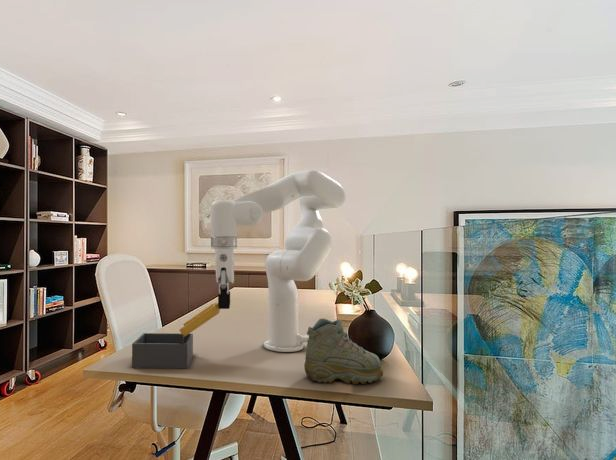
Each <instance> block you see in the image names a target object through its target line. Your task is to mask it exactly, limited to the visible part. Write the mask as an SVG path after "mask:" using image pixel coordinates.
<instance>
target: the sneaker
mask: <svg viewBox="0 0 616 460" xmlns="http://www.w3.org/2000/svg"><path fill="white" fill-rule="evenodd" d="M306 335H308V336H309V339H308V343H307V342H306V343H307V344H306V347H305V358H304V359H305V361H304V372H305V374H306V376H307V378H309V379H310V380H311V381H313V382H316V383H320V384H321V383H323V384H324V383H325V384H326V383H327V384H328V383H329V384H331V383H333V382H334V381H335V380H340V381H342V382H344V383H345V384H351V383H352V385H359V384H361V385H366V384H367V383H368V384H372V383H373V382H377V381H378V380H380V379H381V377H383V375H384V370H383V367H382V364H381V360H380V358H379V356H378V355H377V354H375V353H373V352H370V351H368V350H367V349H364V348H363V347H362V346H359V345H358V344H357V343H356V342H354V341H352V339H351V338H349V334H348V332H345V330H344V326H343V320H341V319H336V320H334V321H332V320H329V319H326V318H319V319H318V320H317V321H316V322H315V323H314V325H313V326H312V327H311V326H308V329H307V331H306Z"/></svg>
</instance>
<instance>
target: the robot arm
mask: <svg viewBox="0 0 616 460" xmlns="http://www.w3.org/2000/svg"><path fill="white" fill-rule="evenodd" d="M298 199H299V205H300V212H301V213H300V214H301V215H300V219H299V220H298V221H297V223H296V224H295V226H294V227H293V228H292V230H291V231H290V233H289V234H288V235H287V237H286V239H285V242H284V248H285V249H276V250H273V251H271V252H270V253H269V254H268V255H267V257H266V258H265V263H264V268H265V273H266V277H267V285H268V286H267V287H268V340H266V341H265V340H264V343H263V347H264V348H265V349H266V350H269V351H272V352H279V353H293V352H299V351H301V350H303V349H304V343H308V339H309V335H308V334H306V335H301V334H300V332H299V293H298V288H297V285H296V282H295V281H297V282H298V281H299V282H307V281H310V280H311V279H313V278H314V277H315V276H316V275H317V273H318V272H319V270H320V269H321V267H322V266H323V264H324V262H325V261H326V260H327V258H328V256H329V254H330V252H331V250H332V245H333V239H332V235H331V233H330V232H329V231H328V230H327V229H326V228H324V220H323V218H322V216H321V213H320V210H328V209H337V208H339V207H341V206H343V204H344V202H345V200H346V192H345V189H344V187H343V186H342V184H340V183H339V182H337V181H336V180H334V179H333V178H331V177H330V176H328V175H327V174H325V173H323V172H322V171H319V170H317V169H306V170H301V171H295V172H292V173H289V174H287V175H286V176H283V177H282V178H279V179H278V180H276V181H274V182H272V183H270V184H268V185H266V186H263V187H260V188H258V189H256V190H253V191H251V192H249V193H246V194H243V195H241V196H239V197H237V198H235V199H233V200H224V199H223V200H215V201H213V202H212V203H211V205H210V250H211V249H213V250H214V256H215V257H214V266H215V279H216V280H215V281H216V283H217V284H218V294H217V300H218V301H217V303H218V308H219V309H220V310H229V309H230V307H231V291H230V283H231V284H234V283H235V253H234V250H235V249H238V228H240V227H242V228H243V227H244V228H247V227H253V226H256V225H258V224H259V223H260V222H261V221H262V220H263V216H264V214H265V213H271V212H274V211H278V210H281V209H282V208H284V207H286V206H287V205H290V203H293V202H294V201H296V200H298Z"/></svg>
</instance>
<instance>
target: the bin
mask: <svg viewBox="0 0 616 460" xmlns="http://www.w3.org/2000/svg"><path fill="white" fill-rule="evenodd" d="M193 356H194V333H189V334H188V335H186V336H185V337H184V335H183V334H181V333H179V332H178V333H173V332H172V333H171V332H170V333H168V332H167V333H163V332H161V333H160V332H159V333H158V332H154V333H153V332H143V333H142V334H141V335H140V336H139V337H138V338H137V339H136V340H135V341H133V342H132V343H131V368H133V369H137V368H139V369H141V368H142V369H188V367H189V365H190V363H191V361H192V359H193Z"/></svg>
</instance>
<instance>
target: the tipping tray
mask: <svg viewBox="0 0 616 460" xmlns="http://www.w3.org/2000/svg"><path fill="white" fill-rule="evenodd" d="M220 311H221V309H219V308H218V301H215V302H213V303H212V304H210V305H209V306H207V307H206V308H204V309H203V310H201V311H200V312H198V313H197V314H196V315H194V316H193V317H191V318H190V319H188V320H187V321H186V322H184V323H183V324H182V325H183V326H182V327H181V328H179V332H180V334H183V335H184V337H185V336H186V335H188V334H192V332H194V331H195V330H197V329H198V328H199V327H201V326H202V325H204V324H205V323H207V322H208V321H210V320H211V319H213V318H214V317H216V316H217V315H219V313H220Z"/></svg>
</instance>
